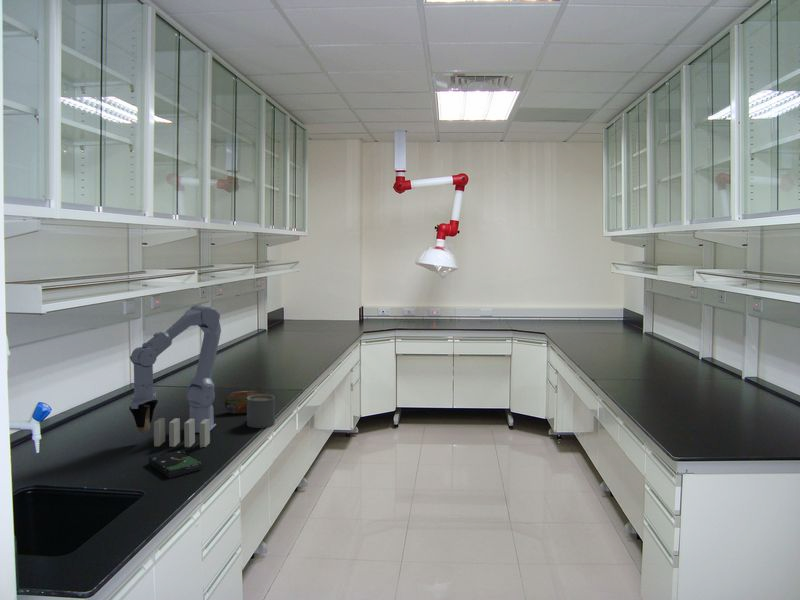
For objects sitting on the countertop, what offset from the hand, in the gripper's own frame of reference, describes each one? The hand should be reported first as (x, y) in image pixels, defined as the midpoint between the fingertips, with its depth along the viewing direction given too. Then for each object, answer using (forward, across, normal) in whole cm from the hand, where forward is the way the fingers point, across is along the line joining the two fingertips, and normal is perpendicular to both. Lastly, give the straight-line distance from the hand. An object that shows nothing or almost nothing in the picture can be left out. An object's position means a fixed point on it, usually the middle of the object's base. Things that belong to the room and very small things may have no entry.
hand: (144, 424), depth 201 cm
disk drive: (+7, +20, +18) cm, 28 cm away
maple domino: (+2, 0, 0) cm, 2 cm away
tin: (+6, -40, +22) cm, 46 cm away
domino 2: (+6, 0, +10) cm, 12 cm away
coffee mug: (+6, -26, +32) cm, 42 cm away
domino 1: (+6, 0, +5) cm, 8 cm away
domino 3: (+6, 0, +15) cm, 16 cm away
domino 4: (+6, 0, +20) cm, 21 cm away
